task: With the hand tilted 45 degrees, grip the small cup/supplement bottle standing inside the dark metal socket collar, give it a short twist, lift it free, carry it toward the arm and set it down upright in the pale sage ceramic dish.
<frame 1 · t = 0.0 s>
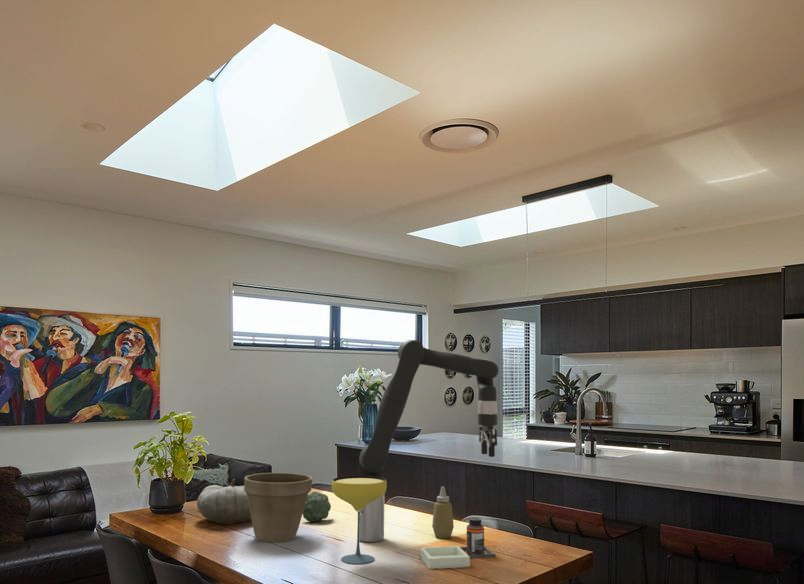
hand: (487, 455, 238), 29 cm above the table, tool pointing down, fingers open, 8 cm apart
supplement bottle: (475, 554, 208), resting in socket collar
dish: (444, 561, 198), on the table
plant pot: (276, 538, 227), on the table
gourd: (226, 522, 252), on the table
socket collar: (475, 553, 208), on the table
cocktail glass: (357, 560, 199), on the table
vegetable: (313, 520, 256), on the table
squeeze bottle: (442, 537, 230), on the table
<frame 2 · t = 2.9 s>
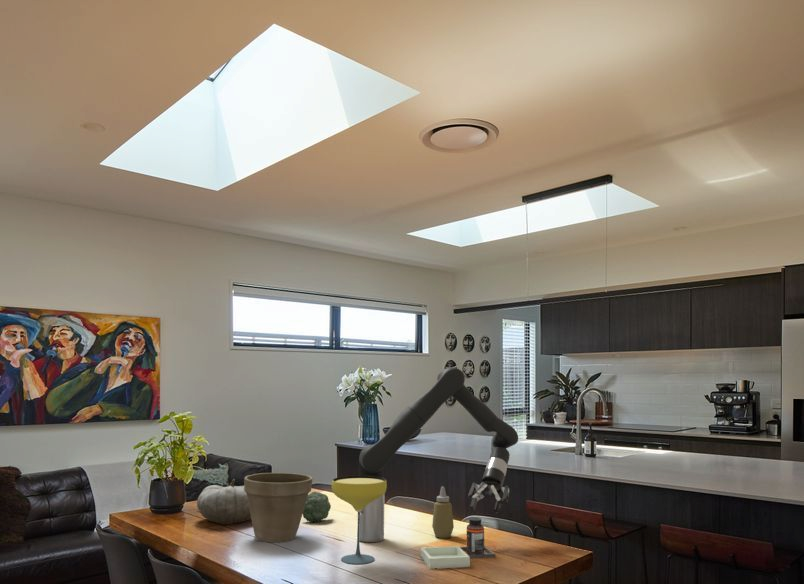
hand: (484, 510, 217), 12 cm above the table, tool tilted 45°, fingers open, 8 cm apart
nothing on the table moved.
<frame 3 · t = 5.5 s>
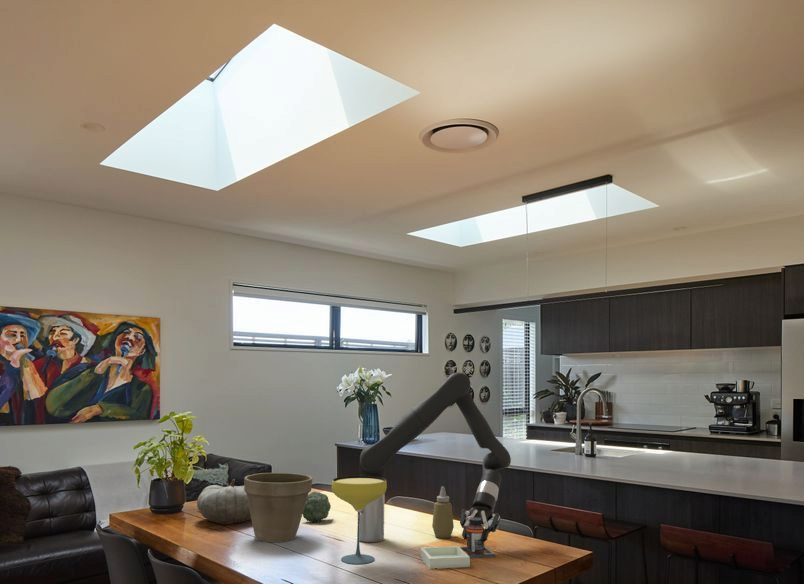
hand: (473, 539, 207), 5 cm above the table, tool tilted 45°, fingers closed on supplement bottle, 6 cm apart
supplement bottle: (475, 554, 208), resting in socket collar, touching gripper
everything else where it was.
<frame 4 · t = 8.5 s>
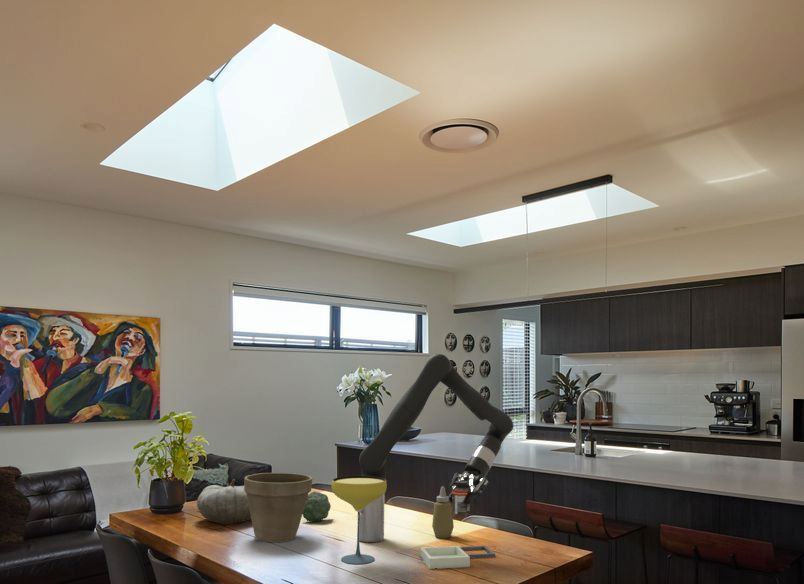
hand: (457, 501, 205), 18 cm above the table, tool tilted 45°, fingers closed on supplement bottle, 6 cm apart
supplement bottle: (461, 516, 206), point 13 cm above the table, touching gripper
everything else where it was.
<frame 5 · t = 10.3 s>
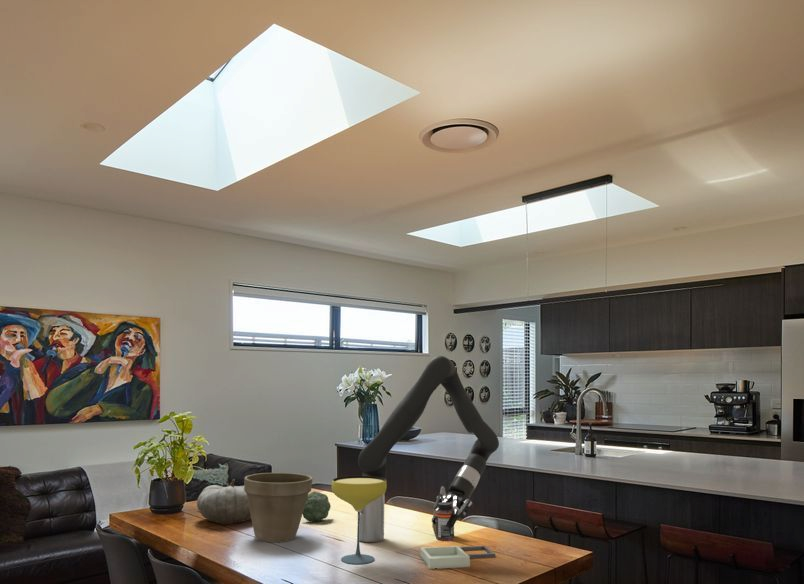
hand: (441, 524, 198), 12 cm above the table, tool tilted 45°, fingers closed on supplement bottle, 6 cm apart
supplement bottle: (444, 540, 199), point 7 cm above the table, touching gripper
everything else where it was.
when the fingers open (7 cm above the table, at t = 11.7 s): supplement bottle drops 1 cm, resting on dish.
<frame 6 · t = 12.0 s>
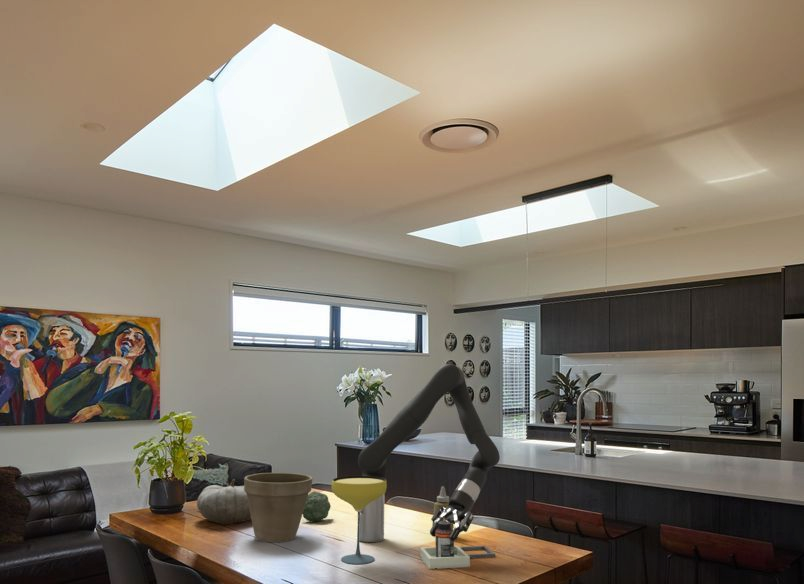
hand: (441, 537, 198), 8 cm above the table, tool tilted 45°, fingers open, 8 cm apart
supplement bottle: (444, 559, 198), point 1 cm above the table, touching dish
everything else where it was.
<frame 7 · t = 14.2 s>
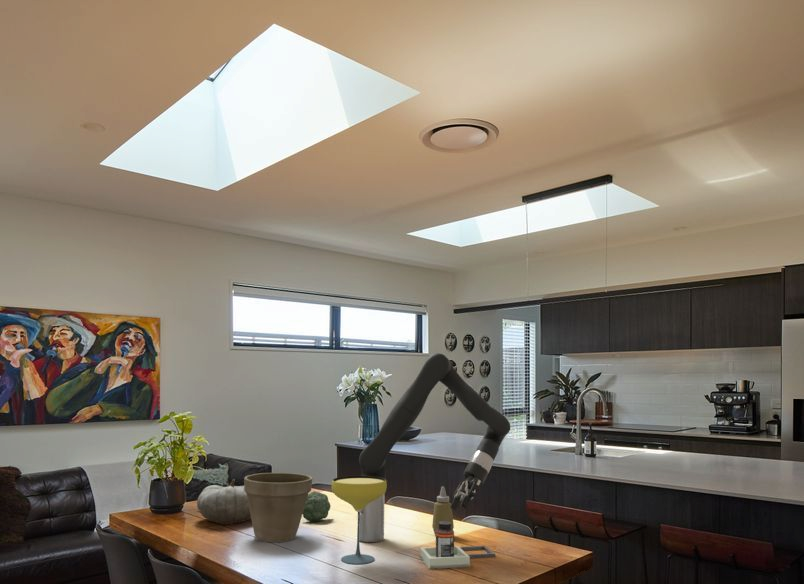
hand: (457, 508, 207), 15 cm above the table, tool tilted 40°, fingers open, 8 cm apart
nothing on the table moved.
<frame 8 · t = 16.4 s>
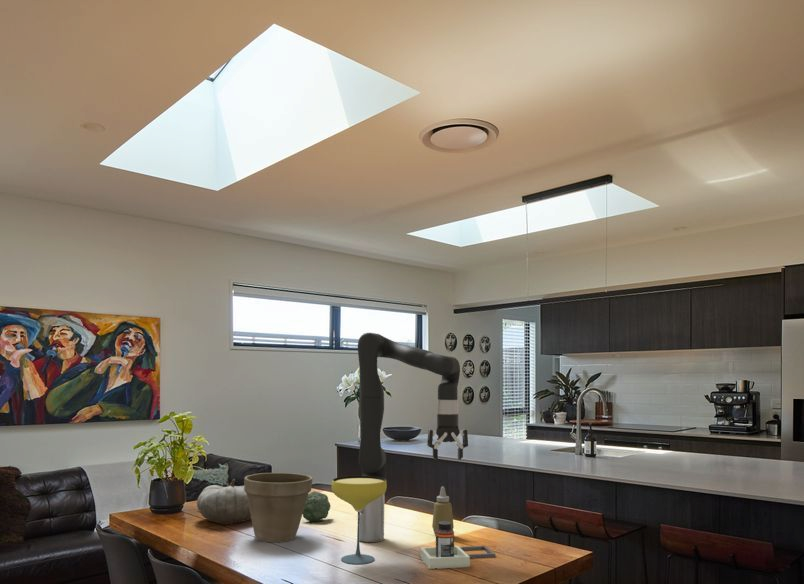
hand: (447, 459, 217), 30 cm above the table, tool pointing down, fingers open, 8 cm apart
nothing on the table moved.
at the end: supplement bottle inside the target area on the dish (0.2 cm from its centre), point 0.6 cm above the dish's base; supplement bottle tilted 0°; the gripper is holding nothing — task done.
